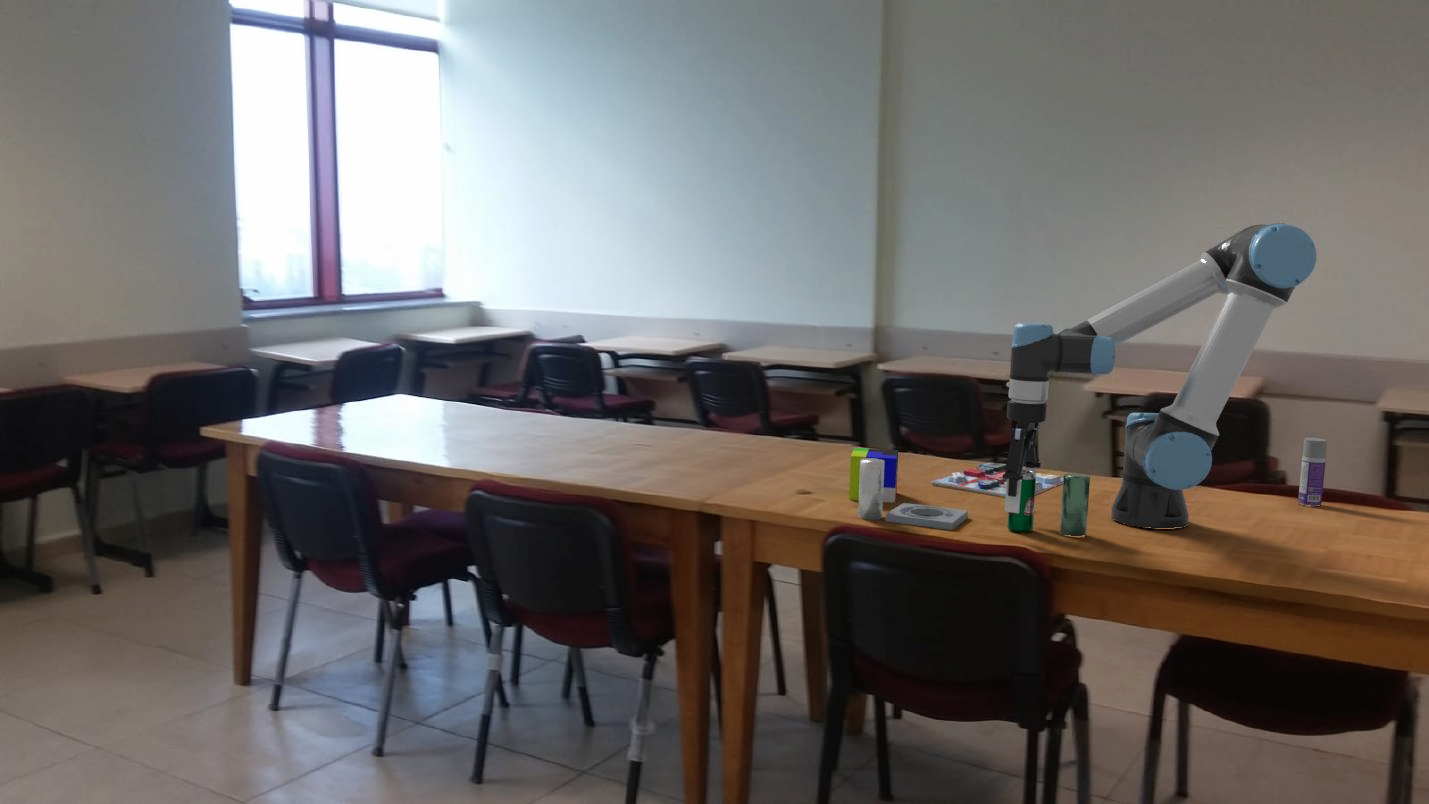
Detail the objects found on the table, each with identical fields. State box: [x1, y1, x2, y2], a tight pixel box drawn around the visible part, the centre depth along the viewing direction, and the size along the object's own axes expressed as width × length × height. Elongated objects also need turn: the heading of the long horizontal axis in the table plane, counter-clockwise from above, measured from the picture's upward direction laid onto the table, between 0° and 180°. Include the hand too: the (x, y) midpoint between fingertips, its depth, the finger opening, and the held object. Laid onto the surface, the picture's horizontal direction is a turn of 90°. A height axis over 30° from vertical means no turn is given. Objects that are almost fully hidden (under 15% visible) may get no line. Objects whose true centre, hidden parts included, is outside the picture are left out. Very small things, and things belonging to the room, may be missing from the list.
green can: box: [1059, 472, 1091, 536], centre depth 227 cm, size 5×5×12 cm
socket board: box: [884, 502, 969, 531], centre depth 238 cm, size 14×12×2 cm
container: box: [1297, 437, 1328, 506], centre depth 257 cm, size 5×5×15 cm
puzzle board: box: [931, 462, 1063, 499], centre depth 276 cm, size 30×23×3 cm
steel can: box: [857, 458, 884, 521], centre depth 238 cm, size 5×5×12 cm
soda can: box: [1007, 470, 1036, 534], centre depth 229 cm, size 5×5×12 cm
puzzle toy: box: [848, 447, 899, 504], centre depth 258 cm, size 10×10×10 cm
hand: (1019, 505), depth 229 cm, fingers open, 13 cm apart
